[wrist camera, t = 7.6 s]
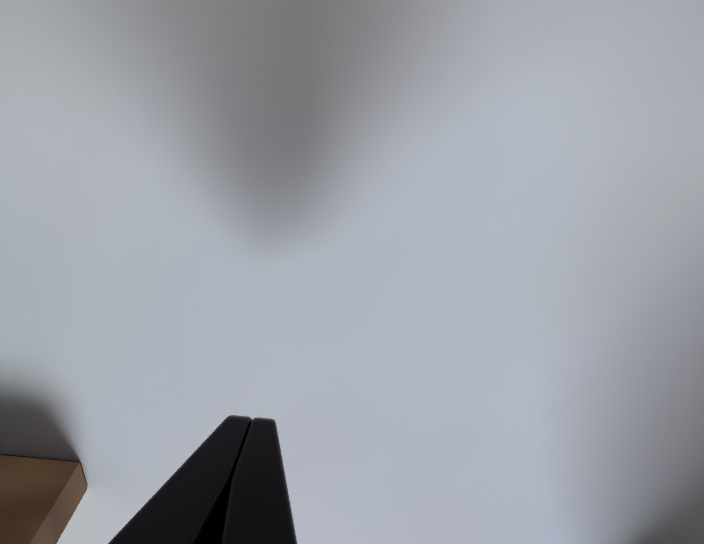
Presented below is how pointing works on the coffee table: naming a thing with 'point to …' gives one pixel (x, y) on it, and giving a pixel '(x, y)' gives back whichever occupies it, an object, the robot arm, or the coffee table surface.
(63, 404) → the coffee table surface
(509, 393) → the coffee table surface
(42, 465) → the bay
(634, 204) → the coffee table surface
